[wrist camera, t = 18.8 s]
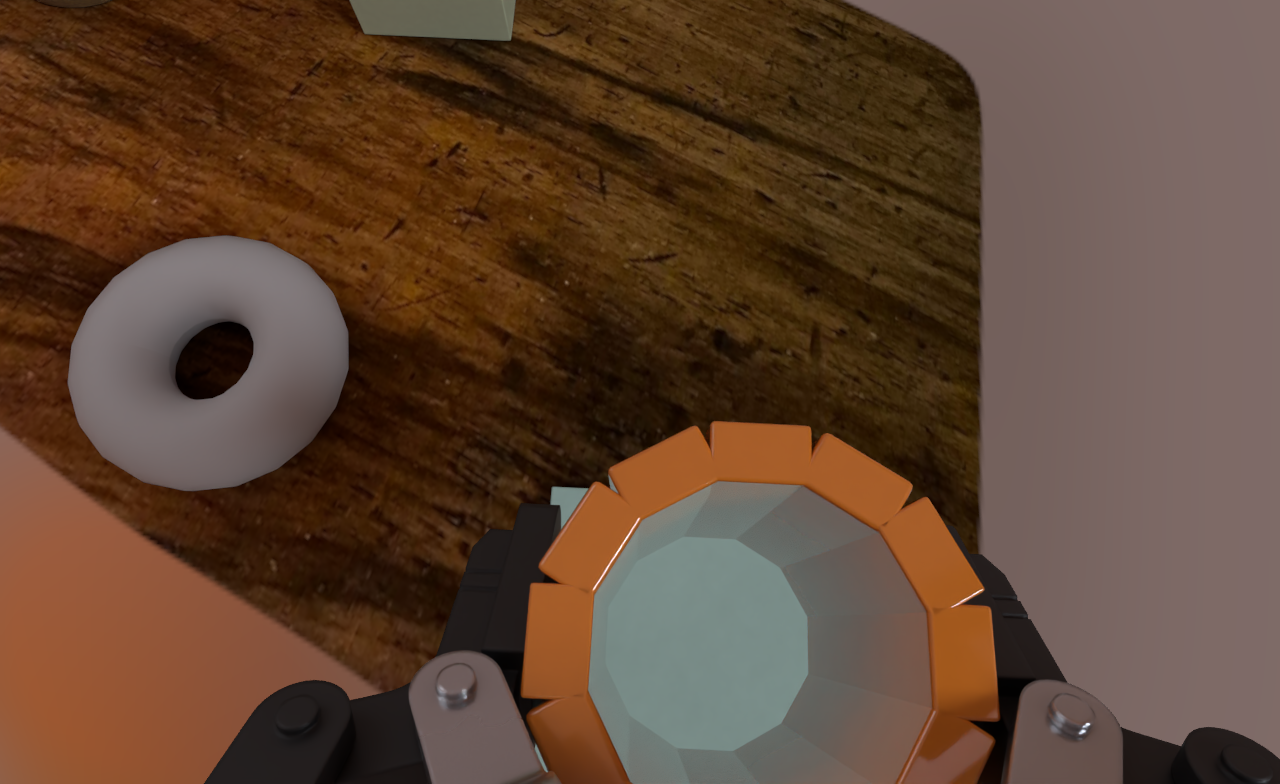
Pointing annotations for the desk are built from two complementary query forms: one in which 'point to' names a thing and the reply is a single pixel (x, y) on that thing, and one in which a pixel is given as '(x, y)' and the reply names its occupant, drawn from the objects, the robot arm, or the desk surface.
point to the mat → (703, 641)
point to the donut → (164, 324)
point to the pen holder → (827, 591)
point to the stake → (437, 18)
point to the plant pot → (73, 3)
